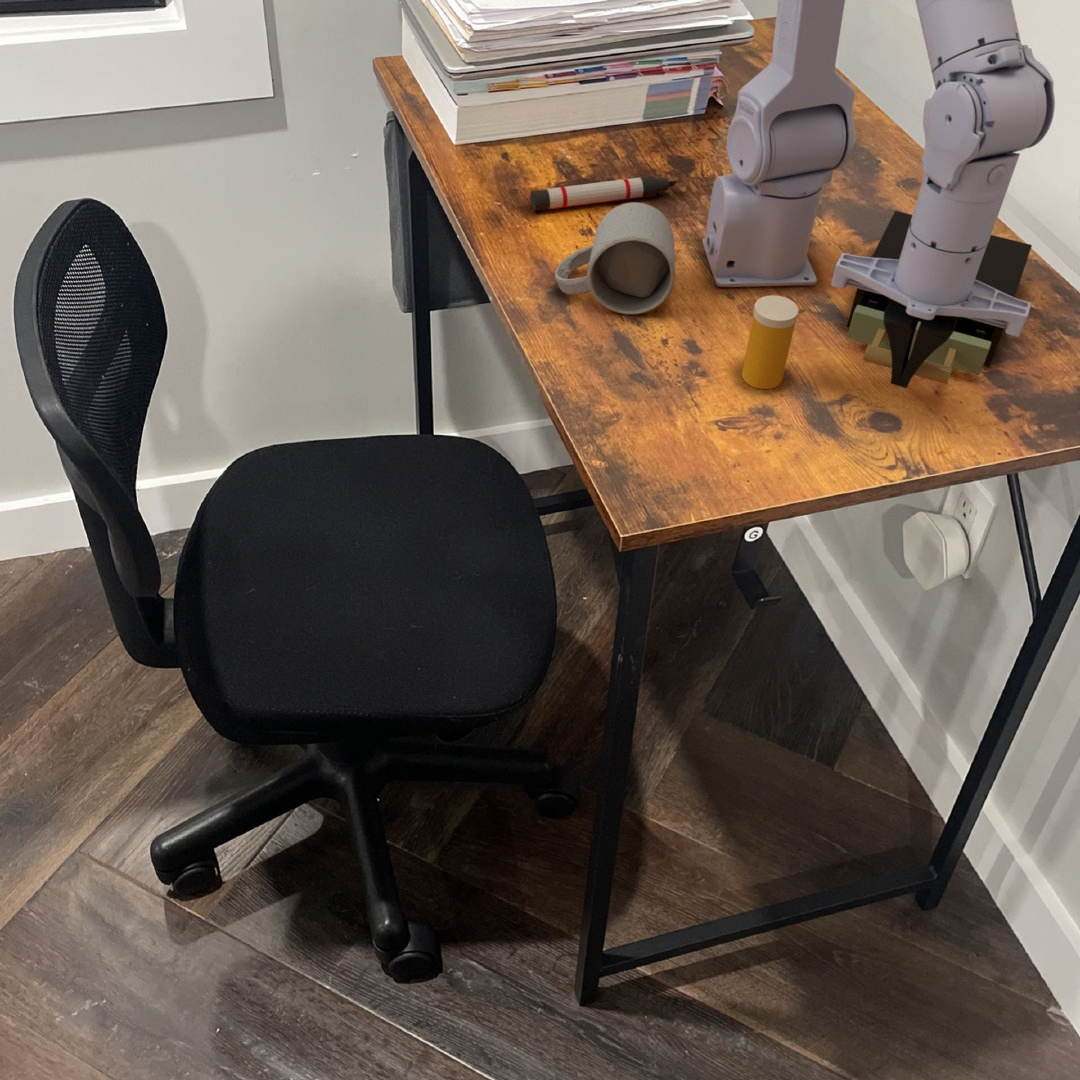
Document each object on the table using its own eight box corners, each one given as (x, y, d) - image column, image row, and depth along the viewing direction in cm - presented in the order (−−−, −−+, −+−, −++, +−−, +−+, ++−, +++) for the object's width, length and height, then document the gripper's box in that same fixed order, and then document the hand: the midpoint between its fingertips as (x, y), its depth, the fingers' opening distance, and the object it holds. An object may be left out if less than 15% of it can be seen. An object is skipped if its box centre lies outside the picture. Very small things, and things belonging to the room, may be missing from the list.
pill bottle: (732, 372, 97) (745, 303, 91) (763, 359, 98) (777, 290, 93) (760, 395, 95) (775, 325, 90) (791, 380, 96) (807, 311, 91)
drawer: (969, 404, 93) (979, 377, 91) (833, 364, 96) (840, 337, 94) (1004, 300, 104) (1014, 273, 102) (881, 267, 107) (888, 241, 105)
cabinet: (989, 367, 98) (1006, 322, 95) (846, 326, 102) (858, 282, 98) (1015, 287, 107) (1032, 244, 103) (883, 252, 110) (895, 210, 107)
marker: (535, 215, 113) (535, 196, 112) (529, 205, 114) (530, 186, 113) (678, 196, 116) (681, 178, 115) (671, 187, 118) (674, 169, 116)
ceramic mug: (670, 267, 107) (678, 193, 102) (670, 318, 102) (679, 242, 96) (558, 262, 108) (560, 187, 102) (552, 311, 102) (554, 236, 97)
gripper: (837, 232, 83) (801, 380, 93) (1042, 286, 79) (981, 434, 88) (862, 189, 87) (825, 334, 97) (1057, 237, 83) (997, 384, 93)
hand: (901, 379), depth 93 cm, fingers closed, pressing on drawer
